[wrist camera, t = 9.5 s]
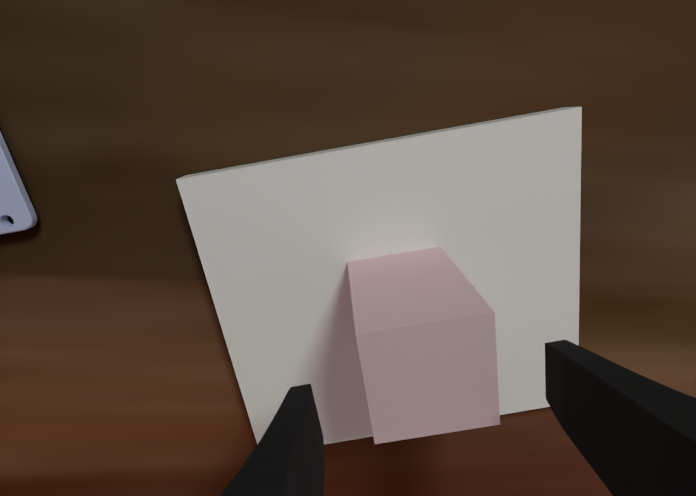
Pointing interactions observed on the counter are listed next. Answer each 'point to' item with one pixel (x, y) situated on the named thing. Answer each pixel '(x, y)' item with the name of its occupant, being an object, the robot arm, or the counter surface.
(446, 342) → the rose block
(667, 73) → the counter surface
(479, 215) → the mat
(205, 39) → the counter surface
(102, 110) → the counter surface
